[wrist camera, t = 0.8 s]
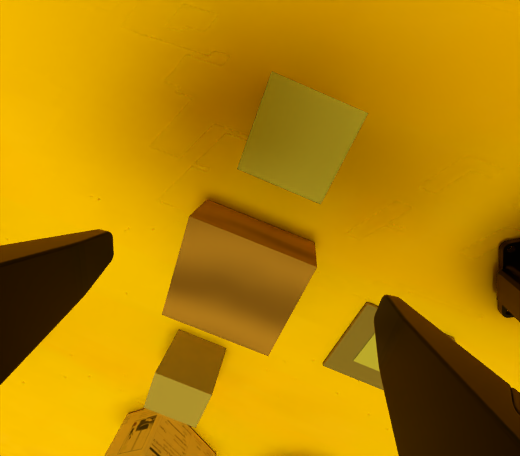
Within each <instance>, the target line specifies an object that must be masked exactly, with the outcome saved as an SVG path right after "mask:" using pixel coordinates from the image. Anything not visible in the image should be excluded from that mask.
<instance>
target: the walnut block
mask: <svg viewBox="0 0 520 456" xmlns="http://www.w3.org/2000/svg"><path fill="white" fill-rule="evenodd" d="M316 268H317V262H316V252H315V243H314V242H312V241H309V240H307V239H304V238H302V237H299V236H297V235H294V234H292V233H289V232H287V231H284V230H282V229H279V228H277V227H274V226H272V225H269V224H267V223H264V222H262V221H259V220H257V219H254V218H252V217H249V216H247V215H244V214H242V213H240V212H237V211H235V210H232V209H230V208H227V207H225V206H222V205H220V204H217V203H215V202H212V201H210V200H206V201H205V202H204V203H203V204H202V205H201V206H200V207H199V208H198V209H197V210H195V211H194V212H193V213H192V214H191V215H190V216H189V220H188V223H187V227H186V230H185V234H184V238H183V241H182V245H181V248H180V252H179V255H178V259H177V263H176V266H175V270H174V273H173V277H172V280H171V284H170V288H169V291H168V295H167V298H166V302H165V305H164V309H163V313H162V315H164V316H167V317H169V318H172V319H174V320H177V321H180V322H182V323H185V324H187V325H190V326H192V327H195V328H198V329H200V330H203V331H205V332H208V333H210V334H213V335H215V336H218V337H221V338H223V339H226V340H228V341H231V342H233V343H236V344H239V345H241V346H244V347H246V348H249V349H251V350H254V351H256V352H259V353H262V354H264V355H267V356H268V355H269V353H270V352H271V350H272V348H273V346H274V344H275V342H276V341H277V339H278V337H279V335H280V333H281V332H282V330H283V328H284V326H285V324H286V322H287V321H288V319H289V317H290V315H291V313H292V312H293V310H294V308H295V306H296V304H297V302H298V301H299V299H300V297H301V295H302V293H303V292H304V290H305V288H306V286H307V284H308V283H309V281H310V279H311V277H312V275H313V273H314V272H315V270H316Z"/></svg>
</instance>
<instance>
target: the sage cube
mask: <svg viewBox="0 0 520 456" xmlns="http://www.w3.org/2000/svg"><path fill="white" fill-rule="evenodd" d="M367 115H368V113H367V112H364V111H362V110H360V109H357V108H355V107H353V106H351V105H348V104H346V103H344V102H341V101H339V100H337V99H334V98H332V97H330V96H328V95H325V94H323V93H321V92H318V91H316V90H314V89H312V88H309V87H307V86H305V85H302V84H300V83H298V82H295V81H293V80H291V79H289V78H286V77H284V76H282V75H279V74H277V73H275V72H273V71H272V72H271V75H270V78H269V80H268V83H267V86H266V89H265V92H264V95H263V97H262V100H261V103H260V106H259V109H258V111H257V114H256V117H255V120H254V123H253V126H252V128H251V131H250V134H249V137H248V140H247V142H246V145H245V148H244V151H243V154H242V157H241V159H240V162H239V165H238V168H237V169H238V170H241V171H243V172H245V173H248V174H250V175H253V176H255V177H257V178H260V179H262V180H264V181H267V182H269V183H271V184H274V185H276V186H279V187H281V188H283V189H286V190H288V191H290V192H293V193H295V194H297V195H300V196H302V197H305V198H307V199H309V200H312V201H314V202H316V203H319V204H321V203H322V201H323V199H324V197H325V195H326V193H327V192H328V190H329V188H330V186H331V184H332V182H333V180H334V178H335V176H336V174H337V172H338V170H339V168H340V167H341V165H342V163H343V161H344V159H345V157H346V155H347V153H348V151H349V149H350V147H351V145H352V143H353V142H354V140H355V138H356V136H357V134H358V132H359V130H360V128H361V126H362V124H363V122H364V120H365V119H366V117H367Z"/></svg>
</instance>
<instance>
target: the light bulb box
mask: <svg viewBox="0 0 520 456" xmlns="http://www.w3.org/2000/svg"><path fill="white" fill-rule="evenodd" d="M105 456H216V454H215V453H214V452H213V451H212V450H211V449H210V448H209V447H208V446H207V444H206V443H205V442H204V441H203V440H202V439H201V438H200V437H199V436H198V435H197V434H196V433H195V432H194V431H193V430H192V429H191V428H190V427H189V426H188V425H187V424H184V423H182V422H179V421H177V420H174V419H172V418H169V417H167V416H164V415H161V414H159V413H156V412H154V411H151V410H149V409H143V410H140V411H137V412H133V413H130V414H128V415H127V416H126V418H125V420H124V421H123V423H122V425H121V427H120V429H119V430H118V432H117V434H116V436H115V438H114V440H113V441H112V443H111V445H110V447H109V448H108V450H107V452H106V454H105Z"/></svg>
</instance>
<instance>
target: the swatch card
mask: <svg viewBox="0 0 520 456" xmlns="http://www.w3.org/2000/svg"><path fill="white" fill-rule="evenodd" d="M377 308H378V306H376V305H373V304H371V303H368V302H366V304H365V305H364V306H363V308H362V309H361V311H360V312H359V313H358V315H357V316H356V318H355V319H354V320H353V322H352V323H351V325H350V326H349V327H348V329H347V330H346V332H345V333H344V334H343V336H342V337H341V339H340V340H339V341H338V343H337V344H336V345H335V347H334V348H333V350H332V351H331V352H330V354H329V355H328V357H327V358H326V359H325V361H324V362H323V366H325V367H328V368H330V369H333V370H335V371H338V372H340V373H342V374H345V375H347V376H350V377H352V378H355V379H357V380H360V381H362V382H365V383H367V384H370V385H372V386H375V387H377V388H379V389H382V390H384V389H383V384H382V380H381V375H380V370H379V365H378V357H377V348H376V339H375V329H374V315H375V313H376V311H377ZM447 336H448V335H447ZM448 337H450V336H448ZM450 338H451V339H452V340H453V341H455V339H454V338H453V337H450Z"/></svg>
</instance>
